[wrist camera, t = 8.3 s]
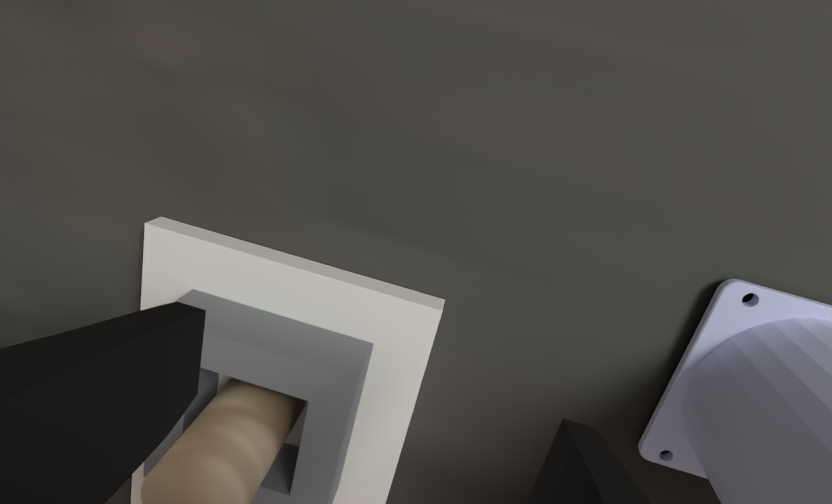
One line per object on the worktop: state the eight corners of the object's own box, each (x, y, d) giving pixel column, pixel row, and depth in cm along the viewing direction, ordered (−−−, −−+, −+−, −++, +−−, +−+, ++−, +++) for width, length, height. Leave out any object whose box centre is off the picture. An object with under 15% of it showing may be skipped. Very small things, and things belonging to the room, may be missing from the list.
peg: (311, 371, 20) (243, 484, 15) (299, 432, 22) (231, 557, 16) (238, 349, 21) (142, 452, 15) (229, 410, 22) (138, 527, 16)
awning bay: (445, 299, 20) (418, 410, 13) (363, 576, 25) (316, 750, 19) (161, 216, 20) (2, 281, 14) (143, 503, 26) (24, 645, 20)
